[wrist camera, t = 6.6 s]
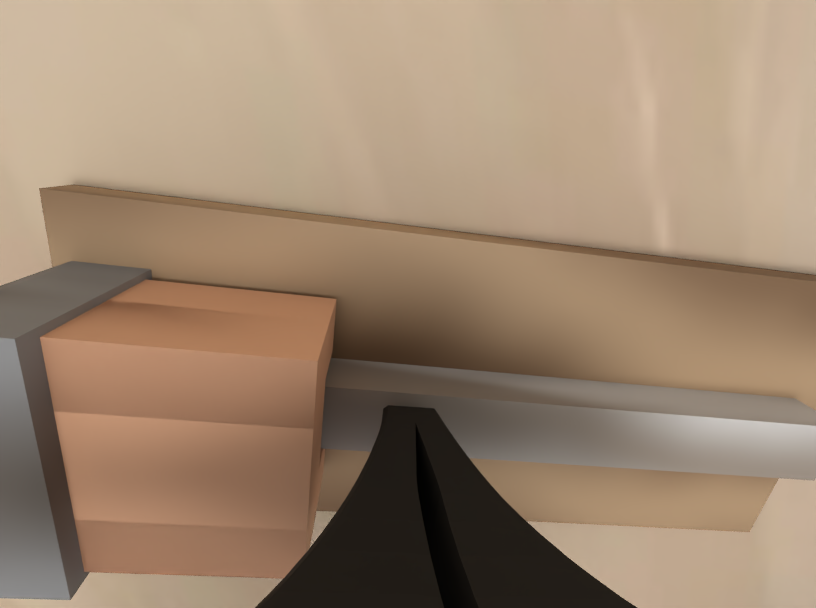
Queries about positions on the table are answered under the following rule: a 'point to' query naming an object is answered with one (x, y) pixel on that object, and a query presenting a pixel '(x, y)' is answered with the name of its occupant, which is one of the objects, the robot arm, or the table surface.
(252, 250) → the rail board
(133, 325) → the slider block
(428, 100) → the table surface
